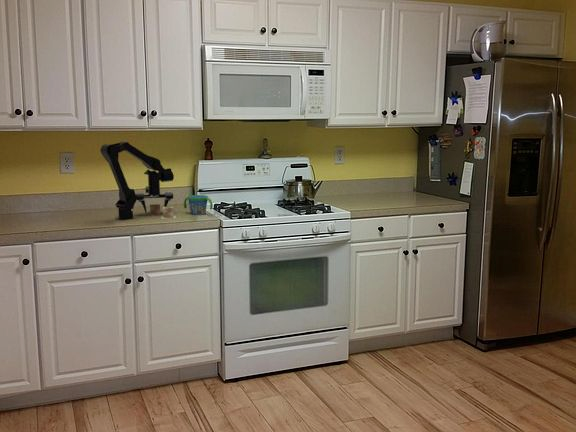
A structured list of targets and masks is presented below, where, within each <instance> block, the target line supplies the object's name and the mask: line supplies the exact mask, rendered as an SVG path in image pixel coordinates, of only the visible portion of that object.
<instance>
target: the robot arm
mask: <svg viewBox="0 0 576 432" xmlns="http://www.w3.org/2000/svg"><path fill="white" fill-rule="evenodd" d="M123 152H125V153H127V154H129V155H131V156H132V157H133V158H135V159H137V160H139V161H140V162H141V163H142V164H143V166H145V168H147V169H146V170H145V171H144V172H143V175H147V184H148V185H147V186H145V188H144V189H145V193H146V194H144V193H142V192H141V193H140V192H139V193H136V192H135V189H134V188H130V187H129V185H128V182H127V180H126V177H125V174H124V172H123V170H122V166H121V164H120V162H119V153H123ZM100 153H101V156H102V157H103V158H104V159H105V161H106V162H107V163H108V165H109V169H110V170H111V173H112V175H113V178H114V181H115V182H116V185H117V187H118V197H119V199H118V200H117V202H116V203H115V207H116V209H118V211H117V212H118V220H122V221H127V220H132V219H134V210H133V209H134V207H135V204H136V203H137V201H138V202H139V203H141V205H142V207H143V210H144V213H145V214H147V206H146V201H145V199H158V198H159V199H163V198H164V199H163V201H164V203H163V207H168V204H169V201H171V200H173V199H174V194H173V192H169V191H168V192H164V193H161V187H160V186H161V184H160V183H166V182H173V180H174V177H175V175H174V173H173V170H172V168H170V167H169V168H168V167H167V168H164V167H163V165H162V162H161V160H160V159H158V158H156V157H153V156H151V155H148V154H146V153H144V152H143V151H142V150H140V149H138V148H136V147H135V146H133V145H132V144H130V143H129V141H120V142H116V143H113V144H112V143H111V144H109V143H108V144H107V143H106V144H105V143H104V144H103V145H102V146H101V147H100Z"/></svg>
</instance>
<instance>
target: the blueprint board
mask: <svg viewBox="0 0 576 432" xmlns="http://www.w3.org/2000/svg"><path fill="white" fill-rule="evenodd" d="M160 217H161V220H166V219H170V218H163V215H162V216H161V215H160ZM173 219H177V218H176V215H174V218H173Z"/></svg>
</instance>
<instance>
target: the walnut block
mask: <svg viewBox="0 0 576 432" xmlns="http://www.w3.org/2000/svg"><path fill="white" fill-rule="evenodd" d="M149 215H150V216H151V217H152V216H161V205H160V204H158V203H157V204H149Z"/></svg>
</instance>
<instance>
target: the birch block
mask: <svg viewBox="0 0 576 432" xmlns="http://www.w3.org/2000/svg"><path fill="white" fill-rule="evenodd" d="M162 216H163V218H169V219H175V218H174V216H175V214H174V207H173V206H166V207H164V206H163V207H162Z"/></svg>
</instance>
